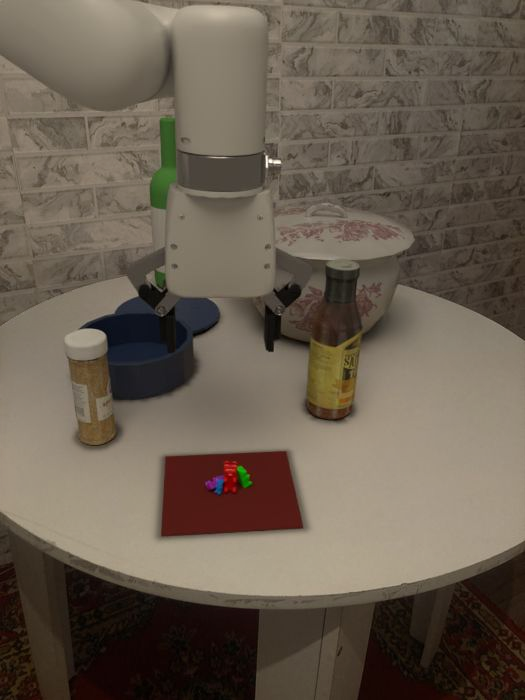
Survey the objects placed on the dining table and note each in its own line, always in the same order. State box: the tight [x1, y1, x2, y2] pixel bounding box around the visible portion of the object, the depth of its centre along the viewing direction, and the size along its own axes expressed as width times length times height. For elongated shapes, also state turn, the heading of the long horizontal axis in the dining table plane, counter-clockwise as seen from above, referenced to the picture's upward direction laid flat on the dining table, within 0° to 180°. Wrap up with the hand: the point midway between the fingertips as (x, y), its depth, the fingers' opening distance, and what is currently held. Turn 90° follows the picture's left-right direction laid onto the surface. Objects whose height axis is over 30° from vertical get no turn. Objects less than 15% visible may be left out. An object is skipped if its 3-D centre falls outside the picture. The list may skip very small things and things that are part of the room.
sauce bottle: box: [305, 259, 363, 420], centre depth 74 cm, size 6×6×20 cm
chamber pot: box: [251, 202, 416, 343], centre depth 96 cm, size 28×28×21 cm
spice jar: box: [63, 329, 118, 446], centre depth 69 cm, size 5×5×14 cm
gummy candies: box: [205, 461, 252, 495], centre depth 63 cm, size 5×3×4 cm, turn 88°
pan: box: [77, 311, 195, 400], centre depth 85 cm, size 17×17×5 cm
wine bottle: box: [149, 117, 177, 289], centre depth 108 cm, size 8×8×30 cm
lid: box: [114, 280, 220, 335], centre depth 100 cm, size 18×18×6 cm
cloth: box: [160, 450, 304, 537], centre depth 64 cm, size 14×12×1 cm
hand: (220, 346), depth 59 cm, fingers open, 9 cm apart
